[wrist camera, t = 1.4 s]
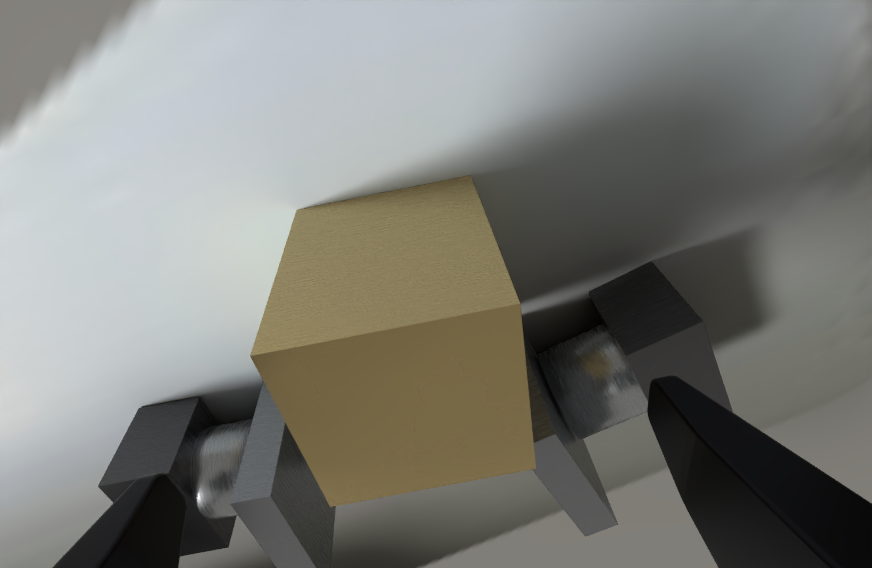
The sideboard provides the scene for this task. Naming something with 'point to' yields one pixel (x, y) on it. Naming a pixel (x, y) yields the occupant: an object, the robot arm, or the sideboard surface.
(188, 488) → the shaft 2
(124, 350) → the sideboard surface
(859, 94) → the sideboard surface
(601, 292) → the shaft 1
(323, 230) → the block
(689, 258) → the sideboard surface
